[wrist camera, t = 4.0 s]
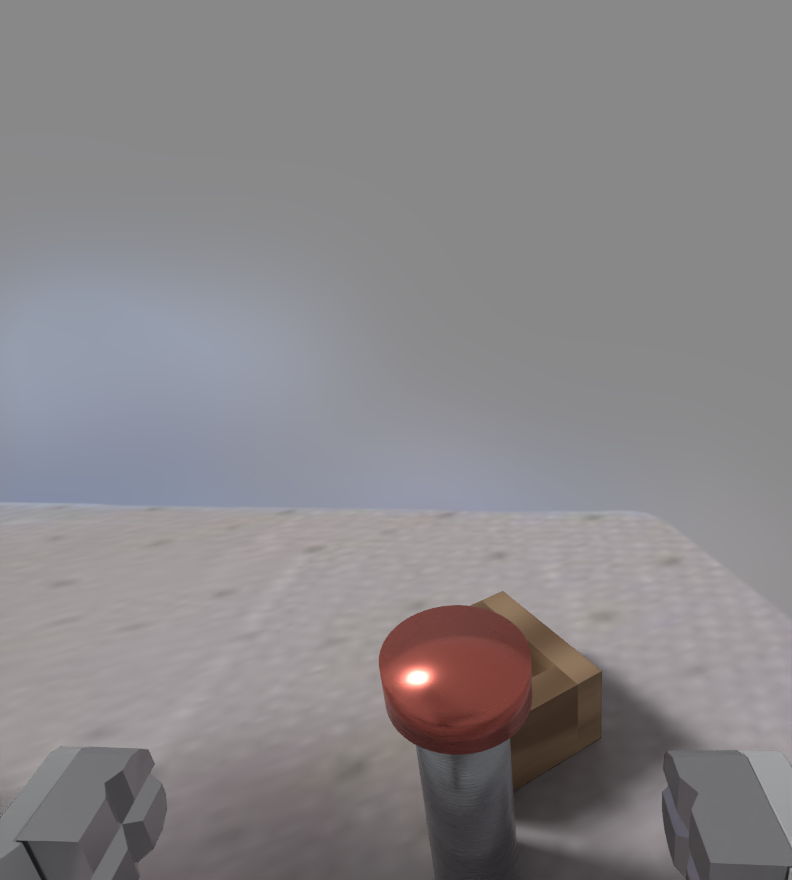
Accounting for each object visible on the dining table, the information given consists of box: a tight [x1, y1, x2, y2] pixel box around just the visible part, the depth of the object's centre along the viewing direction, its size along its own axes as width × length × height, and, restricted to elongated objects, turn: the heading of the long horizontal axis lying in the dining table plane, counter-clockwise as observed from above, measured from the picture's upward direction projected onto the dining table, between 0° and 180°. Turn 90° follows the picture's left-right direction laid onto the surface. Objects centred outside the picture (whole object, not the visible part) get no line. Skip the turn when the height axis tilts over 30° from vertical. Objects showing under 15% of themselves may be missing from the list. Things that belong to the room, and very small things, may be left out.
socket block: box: [471, 591, 602, 792], centre depth 36 cm, size 9×9×5 cm
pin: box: [379, 605, 532, 880], centre depth 26 cm, size 6×6×14 cm
